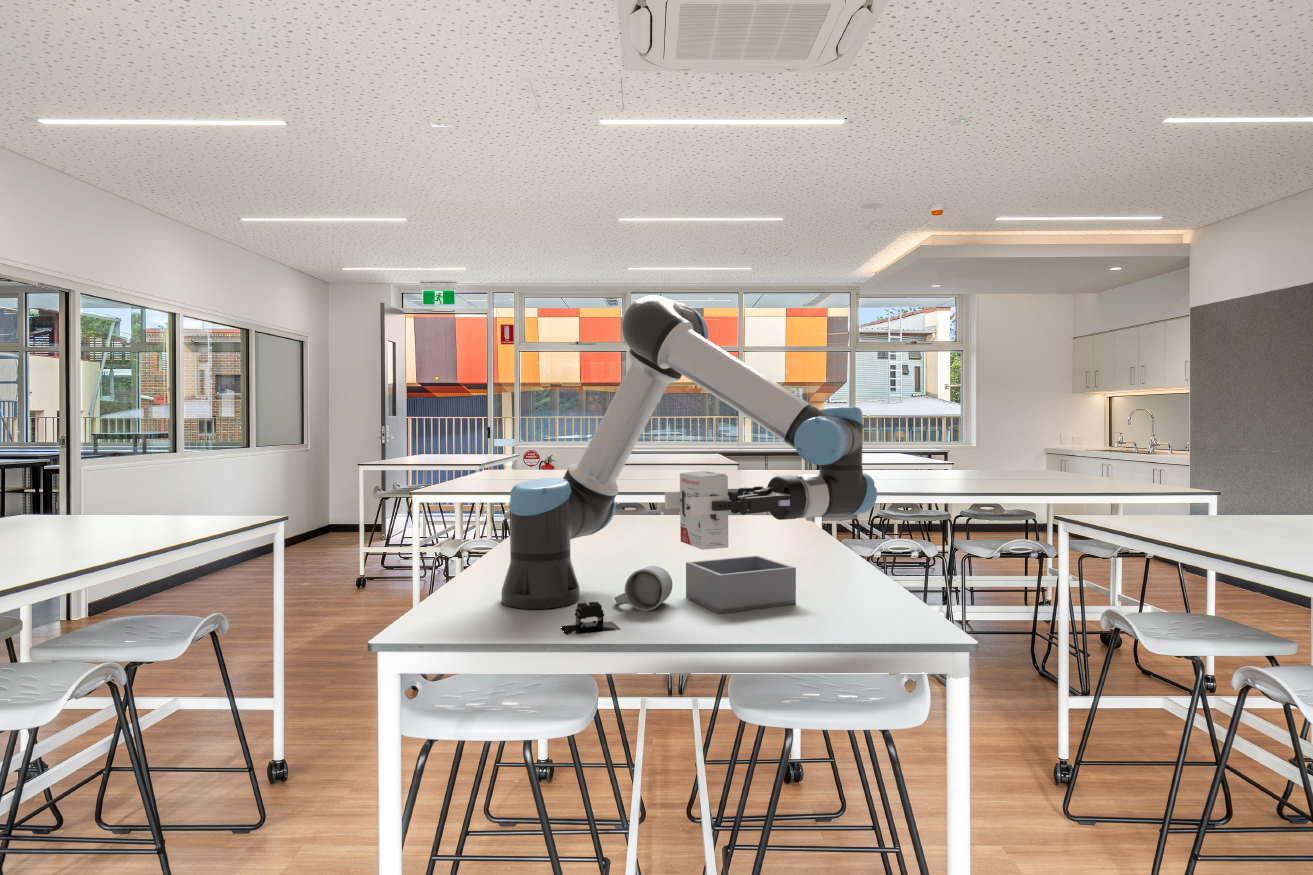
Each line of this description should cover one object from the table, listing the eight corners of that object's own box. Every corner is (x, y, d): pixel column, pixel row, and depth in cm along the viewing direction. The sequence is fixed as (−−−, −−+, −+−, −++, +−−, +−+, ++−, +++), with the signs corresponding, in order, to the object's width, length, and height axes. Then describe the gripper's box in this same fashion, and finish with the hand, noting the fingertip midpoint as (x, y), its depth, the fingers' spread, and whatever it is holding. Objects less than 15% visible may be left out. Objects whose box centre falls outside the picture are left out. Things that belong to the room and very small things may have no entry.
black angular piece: (619, 622, 128) (618, 596, 128) (630, 633, 121) (630, 606, 121) (549, 629, 124) (548, 602, 124) (557, 641, 117) (557, 613, 117)
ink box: (678, 541, 121) (678, 471, 121) (705, 539, 123) (705, 470, 123) (701, 550, 113) (701, 474, 113) (729, 548, 115) (729, 473, 115)
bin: (686, 597, 144) (685, 562, 144) (757, 589, 151) (757, 555, 150) (719, 613, 131) (719, 575, 131) (795, 603, 138) (795, 567, 138)
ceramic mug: (674, 602, 140) (674, 562, 140) (663, 613, 132) (663, 571, 132) (622, 598, 143) (622, 560, 143) (608, 609, 135) (608, 568, 135)
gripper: (834, 526, 116) (710, 536, 106) (761, 511, 135) (651, 518, 126) (834, 479, 116) (710, 485, 106) (761, 471, 135) (651, 475, 126)
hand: (678, 503), depth 116 cm, fingers closed on ink box, 9 cm apart
